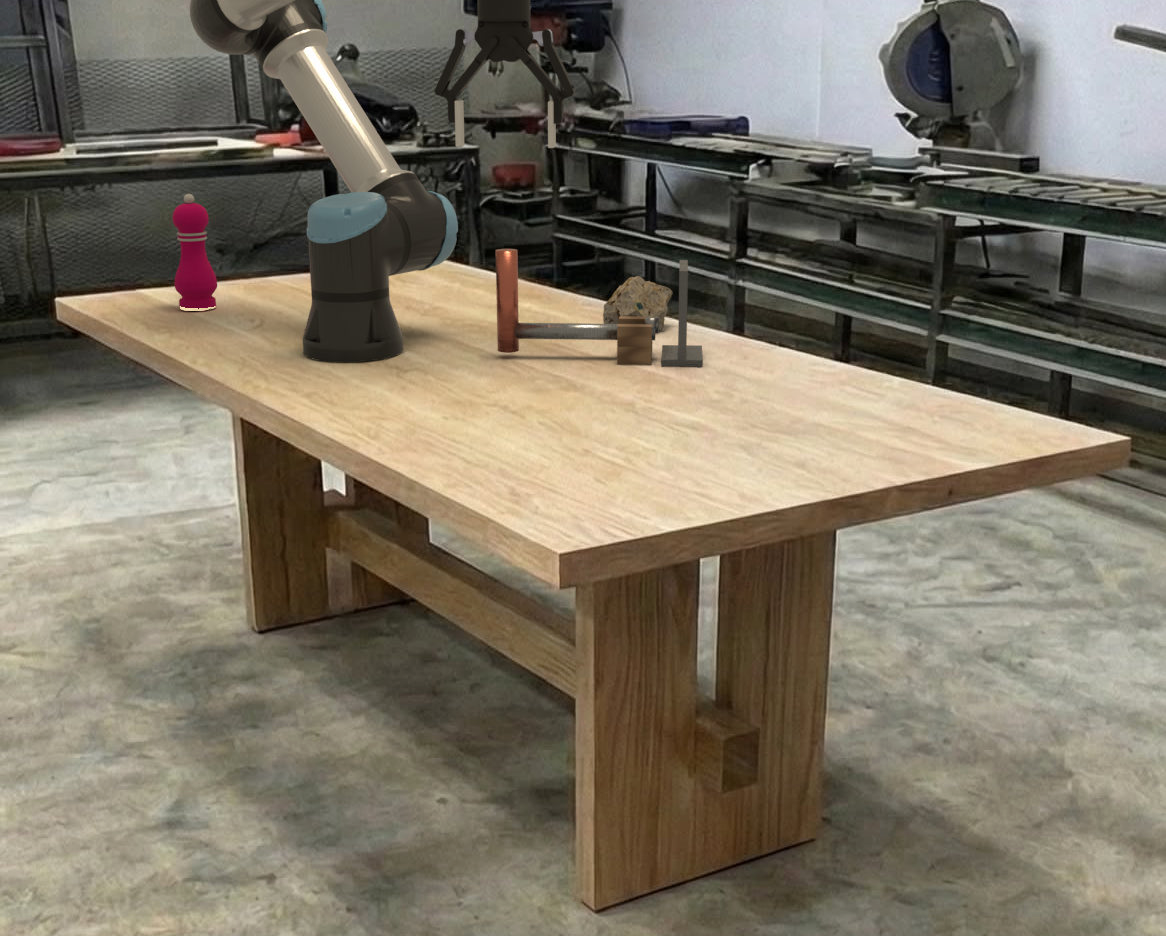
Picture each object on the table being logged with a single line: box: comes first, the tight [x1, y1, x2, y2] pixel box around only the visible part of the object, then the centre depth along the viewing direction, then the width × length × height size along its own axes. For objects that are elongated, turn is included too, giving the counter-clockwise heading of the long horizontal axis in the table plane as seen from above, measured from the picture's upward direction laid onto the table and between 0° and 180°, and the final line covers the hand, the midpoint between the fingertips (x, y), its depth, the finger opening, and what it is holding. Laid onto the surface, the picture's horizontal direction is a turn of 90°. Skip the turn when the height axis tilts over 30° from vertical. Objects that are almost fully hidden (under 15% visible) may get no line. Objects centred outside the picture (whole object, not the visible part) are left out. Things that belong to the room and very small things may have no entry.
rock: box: [602, 275, 674, 331], centre depth 233 cm, size 12×7×10 cm, turn 122°
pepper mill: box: [172, 193, 218, 309], centre depth 250 cm, size 7×7×20 cm
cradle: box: [616, 316, 653, 366], centre depth 214 cm, size 5×8×6 cm, turn 176°
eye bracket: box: [660, 259, 704, 368], centre depth 212 cm, size 6×10×14 cm, turn 176°
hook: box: [495, 248, 660, 354], centre depth 213 cm, size 24×3×15 cm, turn 86°
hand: (505, 147), depth 210 cm, fingers open, 13 cm apart
